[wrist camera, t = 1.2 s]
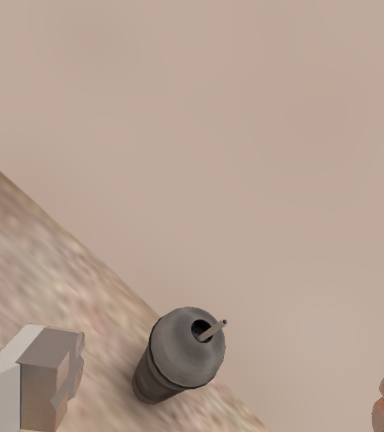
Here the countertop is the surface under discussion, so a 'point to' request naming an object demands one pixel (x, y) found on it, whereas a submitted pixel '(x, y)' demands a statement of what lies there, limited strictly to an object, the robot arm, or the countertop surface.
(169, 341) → the beverage cup
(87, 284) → the countertop surface
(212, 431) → the countertop surface
